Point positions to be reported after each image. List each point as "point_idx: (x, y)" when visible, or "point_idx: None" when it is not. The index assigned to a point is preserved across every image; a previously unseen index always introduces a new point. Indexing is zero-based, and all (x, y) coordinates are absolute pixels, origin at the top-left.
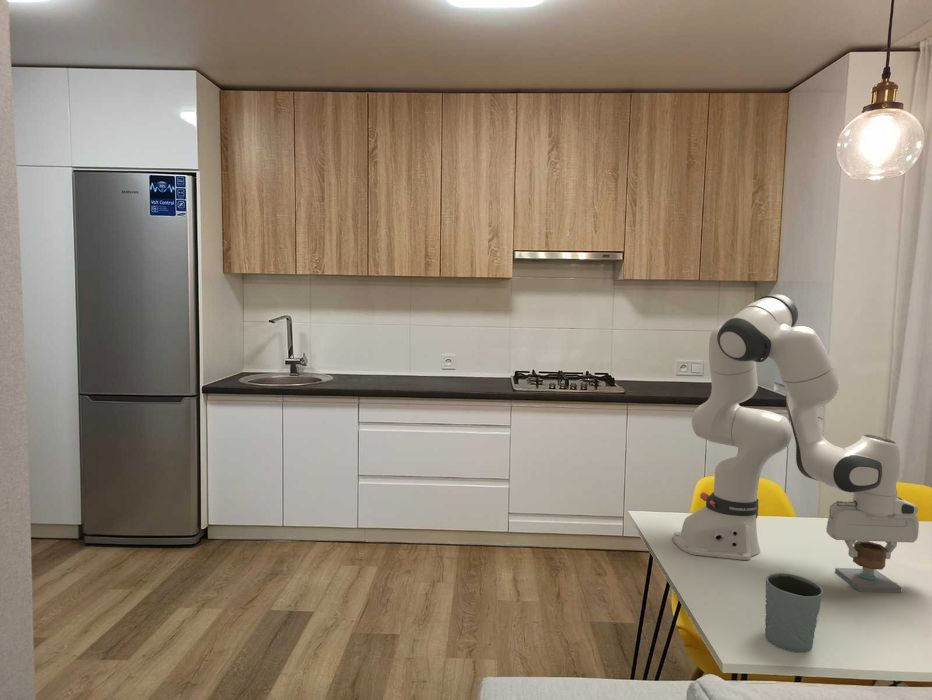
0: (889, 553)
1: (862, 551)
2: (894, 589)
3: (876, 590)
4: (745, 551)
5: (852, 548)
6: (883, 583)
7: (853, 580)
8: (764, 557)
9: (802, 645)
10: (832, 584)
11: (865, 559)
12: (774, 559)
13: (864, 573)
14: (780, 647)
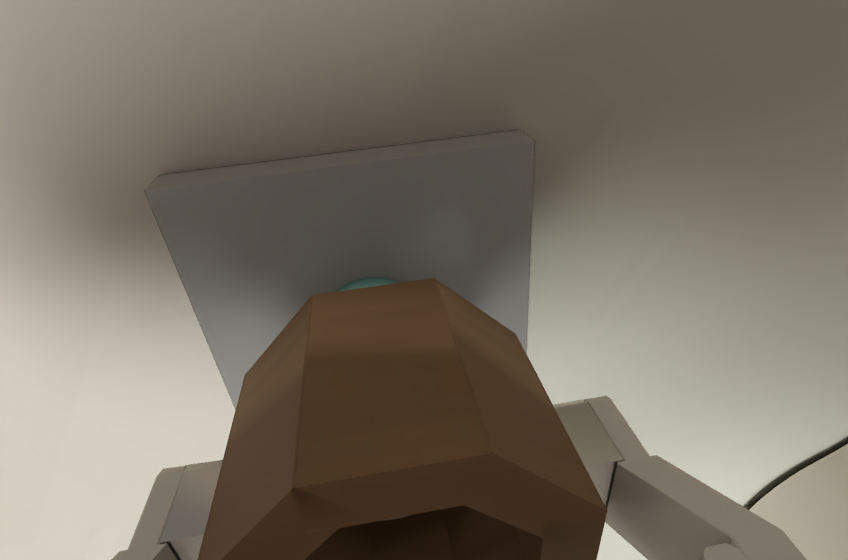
0: (153, 530)
1: (566, 458)
2: (217, 176)
3: (379, 150)
4: None
5: (686, 484)
6: (288, 241)
7: (517, 245)
8: (776, 454)
9: None
10: (648, 212)
11: (504, 367)
12: (744, 447)
13: None
14: None
